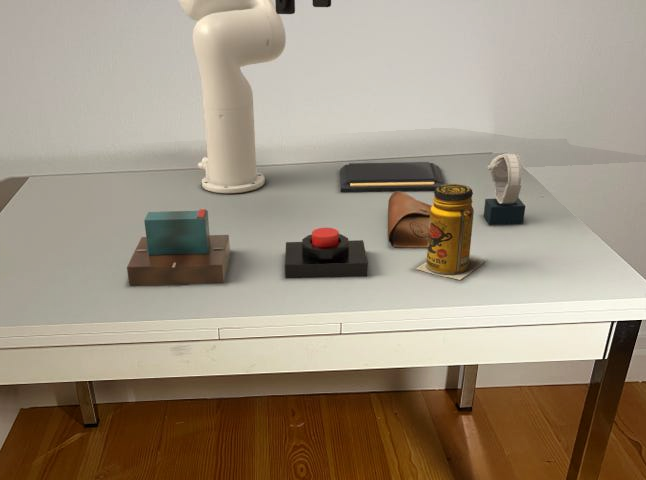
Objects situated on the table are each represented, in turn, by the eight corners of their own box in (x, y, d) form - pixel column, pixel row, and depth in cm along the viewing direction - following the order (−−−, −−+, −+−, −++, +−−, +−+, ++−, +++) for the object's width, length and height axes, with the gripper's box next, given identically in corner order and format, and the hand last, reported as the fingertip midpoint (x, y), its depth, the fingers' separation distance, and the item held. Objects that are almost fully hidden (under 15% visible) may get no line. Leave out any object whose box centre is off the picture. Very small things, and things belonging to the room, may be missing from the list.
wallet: (439, 159, 154) (446, 181, 141) (438, 168, 155) (445, 191, 142) (340, 160, 156) (338, 182, 143) (340, 169, 157) (338, 192, 144)
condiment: (414, 270, 112) (419, 190, 106) (442, 251, 117) (448, 175, 111) (459, 281, 107) (467, 200, 101) (486, 262, 113) (495, 183, 107)
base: (128, 287, 111) (125, 267, 109) (144, 252, 122) (142, 234, 121) (223, 285, 110) (221, 265, 108) (230, 250, 121) (229, 232, 120)
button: (312, 248, 111) (312, 237, 110) (311, 238, 115) (311, 227, 114) (339, 248, 111) (339, 236, 110) (338, 238, 114) (338, 227, 113)
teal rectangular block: (148, 255, 113) (143, 218, 110) (152, 246, 116) (148, 210, 114) (208, 253, 113) (204, 217, 110) (210, 244, 116) (207, 208, 113)
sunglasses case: (443, 245, 118) (423, 210, 115) (403, 266, 120) (382, 232, 118) (436, 207, 133) (418, 175, 131) (400, 226, 136) (382, 195, 133)
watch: (513, 211, 131) (521, 147, 125) (525, 227, 124) (535, 161, 118) (480, 212, 131) (487, 149, 126) (491, 229, 124) (499, 162, 119)
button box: (285, 278, 111) (284, 253, 109) (286, 255, 119) (285, 231, 117) (367, 276, 110) (368, 251, 108) (362, 253, 118) (363, 228, 116)
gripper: (314, -119, 116) (315, 4, 124) (243, -119, 104) (250, 16, 113) (356, -123, 112) (354, 4, 120) (287, -124, 100) (290, 17, 109)
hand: (304, 10), depth 116 cm, fingers open, 9 cm apart
